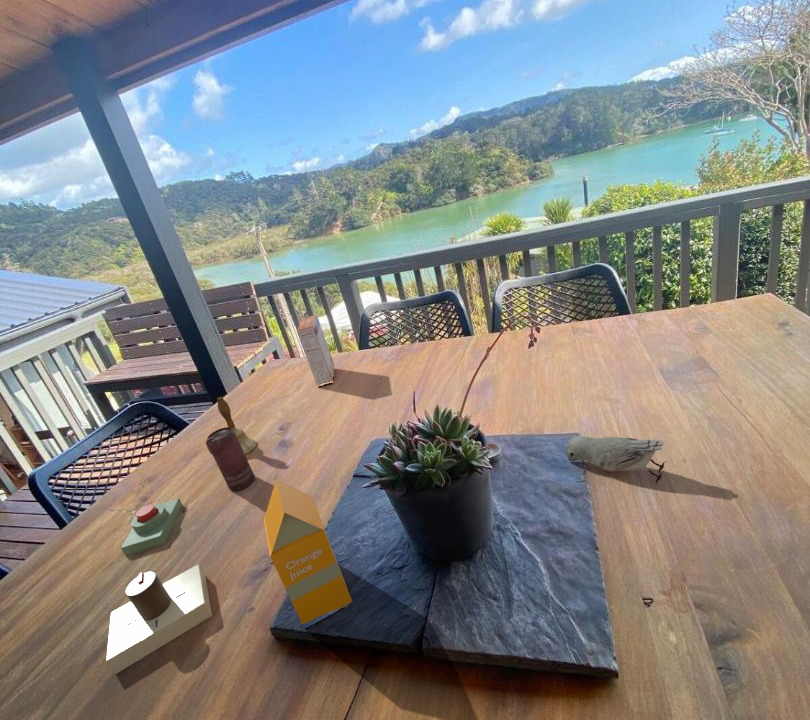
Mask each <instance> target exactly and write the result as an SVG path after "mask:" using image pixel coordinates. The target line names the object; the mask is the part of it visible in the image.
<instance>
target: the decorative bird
mask: <svg viewBox="0 0 810 720" xmlns="http://www.w3.org/2000/svg"><path fill="white" fill-rule="evenodd" d="M664 443H665V441H664V440H658V439H637V438H632V437H619V436H607V437H606V436H605V437H591V436H583V435H582V436H581V435H580V436H575V437H573V438H571V439H570V440H569V441H568V442H567V445H566V448H565V454H566V457H567V459H568V462H569V461H572V462H576V461H585V462H588V463H590V464H591V465H593V466H596V467H598V468H600V469H602V470H603V471H606V472H618V471H620V472H621V471H622V472H627V471H633V472H634V471H636V472H637V471H640V470H644V471H646V472H648V473H649V474H651V475H652V476H654V477H656V479H655V485H656V486H657V485H658V483H659V481H660V480H661V479H662V476H663V475H662V474H663V473H664V472H665V471H662V470H663V469H664V467H665V463H666V462H668V460H665V461H663V462H662V464H659V463H657V462H655V461H654V460H653V459H652V458H653V456H654V455H655V453H656V451H661V450H662V449H663V446H664ZM650 462H651V463H652V464H653V465H655V466H657V467H659V468H658V472H657V473H659V474H656V473H654V472H653V471H652V470H651V469H650V468H649V467H648V464H649V463H650Z"/></svg>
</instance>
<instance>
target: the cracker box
mask: <svg viewBox="0 0 810 720" xmlns="http://www.w3.org/2000/svg"><path fill="white" fill-rule="evenodd" d="M319 319H320V318H319V317H318V315H317V314H315V315H311V316H306V317H304V318H301V319H300V322H299V325H298V328H297V330H296V333H297V335H298V338H299V341H300V343H301V346H302V348H303V351H304V354H305V357H306V359H307V363H308V365H309V368H310V370H311V373H312V375H313V376H312V377H313V379H314V381H315V384H316V386H317V385H320V384H323V383H327V382H330V381H333V374H334V366H335V364H334V363H335V362H334V360H333V357H332V355H331V351H330V348H329V345H328V343H327V340H326V337H325V335H324V331H323V327H322V325H321V322H320V320H319ZM334 375H335V374H334Z"/></svg>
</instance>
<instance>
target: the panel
mask: <svg viewBox="0 0 810 720" xmlns="http://www.w3.org/2000/svg"><path fill="white" fill-rule="evenodd" d="M162 585H163V586H164V588H165V589H166V591H167V593H168V594H169V596H170V597H171V602H170V605H169V606H168V608H167V609H166V610H165V611H164V612H163V613H162V614H161V615H159V616H158V617H156V618H154V619H152V620H143V619H142V617H141V616H140V614H139V613H138V611H137V610H136V608H135V607H134V605H133V604H132V602H131V601H129V602H127V603H126V604H125V603H124V605H122V606H119V607H118V608H117V609H114V610H113V611H111V612H110V616H109V617H110V618H109V627H108V638H107V645H106V657H105V663H106V664H107V665H108V667H109V668H110V669H111V670H112V671H113V673H114V675H117V674H119V673H120V672H123V670H125V669H128V668H129V667H131V666H132V665H133V664H135V663H137V662H139V661H140V660H142V659H144V658H145V657H147V656H148V655H150V654H152V653H154V652H155V651H157V650H158V649H160V648H162V647H163V646H165V645H167V644H168V643H170V642H171V641H173V640H175V639H177V638H178V637H180V636H182V635H183V634H186V632H188V631H189V630H191V629H193V628H194V627H196V626H198V625H200V624H201V623H203V622H204V621H206V620H208V619H210V618H211V617H213V612H212V607H211V602H210V594H209V589H208V583H207V576H206V574H205V572H204V571H203V569H202V567H201V565H200V564H196V565H194V566H192V567H190V568H189V569H187V570H185V571H183V572H182V573H180V574H177V575H176V576H174V577H172V578H170V579H168V580H167V581H165V582H163V583H162Z"/></svg>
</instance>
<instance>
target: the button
mask: <svg viewBox="0 0 810 720" xmlns="http://www.w3.org/2000/svg"><path fill="white" fill-rule="evenodd" d="M154 505H155V504H153V503H149V504H147V505H144V506H142V507H141V508H139V509H138V510H137V511H136V513H135V516H136V517H137V518H138V520H139V522H141V523H142V522H145V521H148V520H149V519H151V518H153V517H154V516H155V515H156V514H157V510H156V508H155V506H154Z"/></svg>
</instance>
